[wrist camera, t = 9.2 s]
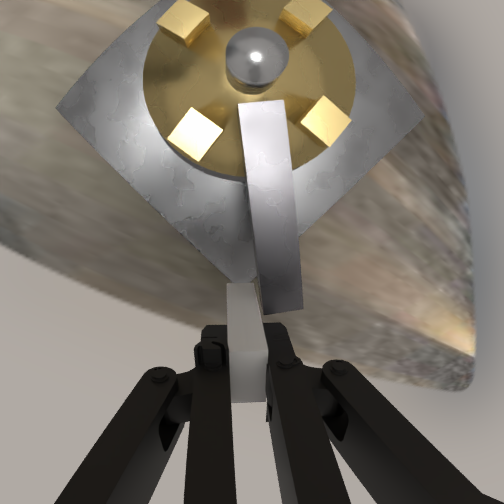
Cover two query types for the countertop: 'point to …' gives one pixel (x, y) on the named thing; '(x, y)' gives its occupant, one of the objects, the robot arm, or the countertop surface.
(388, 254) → the countertop surface
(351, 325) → the countertop surface
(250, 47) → the brass dial with lever
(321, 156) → the flange plate
